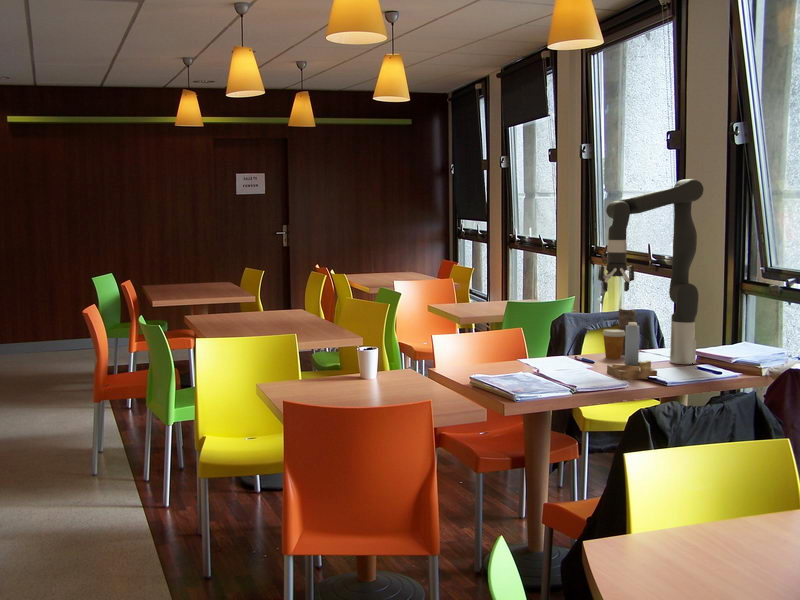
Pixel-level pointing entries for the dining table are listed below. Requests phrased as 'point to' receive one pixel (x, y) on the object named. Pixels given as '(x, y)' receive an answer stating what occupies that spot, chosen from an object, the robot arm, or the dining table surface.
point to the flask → (632, 344)
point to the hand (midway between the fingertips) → (615, 291)
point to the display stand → (632, 370)
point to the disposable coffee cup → (613, 343)
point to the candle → (625, 321)
